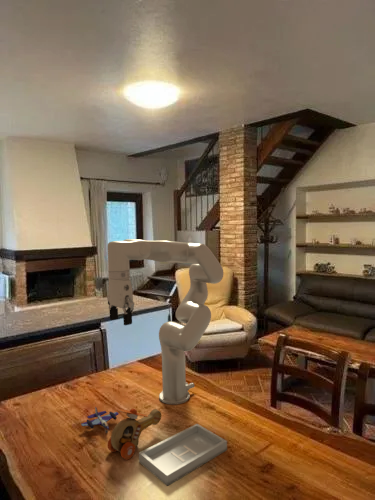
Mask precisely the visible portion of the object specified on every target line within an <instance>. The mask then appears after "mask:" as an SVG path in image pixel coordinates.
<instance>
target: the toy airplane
mask: <svg viewBox="0 0 375 500" xmlns="http://www.w3.org/2000/svg"><path fill="white" fill-rule="evenodd" d="M94 409H95V411H94V412H95V413H93V414H90V415H88V416H86V417H87V419H86V422H82V423H81V426H82V427H90V429H93V428H94V426H97V425H98V426H99V425H100V426H101V427H102V428H104V429H105V434H108V431H110V428H109V424H108V421H110V420H112V419H113V420H117V416H119V415H120V414H119V413H120V412H119V411H115V412H112V411H109V413H108V412H107V411H106V410H104V411H103V410H102V411H98V407H96V406H95V407H94ZM107 413H108V414H107ZM90 419H91V420H90ZM106 429H107V430H106ZM110 433H111V434H112V431H110Z"/></svg>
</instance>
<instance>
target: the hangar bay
mask: <svg viewBox="0 0 375 500" xmlns="http://www.w3.org/2000/svg"><path fill="white" fill-rule="evenodd" d="M227 450H228V440H226V439H224V438H223V437H220V436H219V435H217V434H215V433H214V432H212V431H211V430H209V429H207V428H206V427H204V426H202V425H200V424H199V423H195V424H194V425H192V426H190V427H187V428H186V429H184V430H182V431H180V432H178V433H175V434H173V435H172V436H169V437H168V438H166V439H162V441H160V442H159V441H158V443H155V444H154V445H152V446H150V447H148V448H146V449H144V450H142V451H139V452H138V463H139V464H141V466H143V467H144V468H146V469H147V470H148V471H149V472H150V473H151V474H152V475H154V476H155V477H156V478H157V479H159V481H160V482H162V483H163V484H164V485H166V487H168V486H170V485H172V484H173V483H175V482H176V481H178V480H180V479H182V478H183V477H185V476H187V475H188V474H190V473H191V472H193V471H195V470H196V469H198V468H199V467H201V466H203V465H204V464H206V463H208V462H209V461H211V460H213V459H215V458H216V457H218V456H220V455H221V454H223V453H224V452H226V451H227Z"/></svg>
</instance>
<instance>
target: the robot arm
mask: <svg viewBox="0 0 375 500" xmlns="http://www.w3.org/2000/svg"><path fill="white" fill-rule="evenodd" d="M132 260H133V261H143V260H149V261H155V262H160V263H175V264H176V263H177V264H178V263H179V264H180V263H181V264H190V266H189V270H188V275H189V280H190V286H189V289H188V292H186V295H185V296H184V297H183V299H182V301H181V302H180V303H179V305H178V307H177V308H176V311H175V318H176V320H178V322H176V321H166V322H164V323H163V324H162V325H160V327H159V331H158V340H159V343H160V349H161V370H162V372H161V373H162V378H161V379H162V391H161V392H160V393H158V394H159V395H158V397H159V401H160V402H162V403H163V404H165V405H166V404H167V405H180V404H183V403H186V402H188V401H189V400H190V395H191V393H189V390H190V389H193V388H195V383H194V382H190V383H188V382H187V381H186V379H187V378H186V354H185V352H190V351H192V350H193V349H194V348H195V347H196V346H197V345H198V343H199V342H200V341H201V338H202V337H203V335H204V334H205V331H206V330H207V329H208V327H209V325H210V322H211V319H212V311H211V308H209V306H207V305H206V304H205V303H206V301H207V300H208V296H209V291H208V285H207V284H212V285H213V284H218V283H220V282H221V281H222V280H223V278H224V269H223V266H222V265H221V263H220V262H219V260H218V259H217V257H216V256H215V255H214V253H213V252H212V250H211V249H210V248H209V247H208V246H207V245H206V244H204V243H196V242H195V243H194V242H184V241H183V242H182V241H172V240H171V241H170V240H144V239H135V238H132V239H131V238H126V239H124V240H114V241H109V242H108V243H107V268H108V270H107V271H108V273H107V274H108V295H107V296H106V299H107V305H108V309H109V320H110V321H113V320H118V319H119V308H120V309H122V310H123V313H122V317H123V326H129V325H132V324H133V312H134V307H135V302H134V295H133V286H132V282H131V281H132V280H131V278H130V277H131V275H130V273H131V272H130V270H131V269H130V261H132ZM179 322H180V323H179Z"/></svg>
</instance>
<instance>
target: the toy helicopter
mask: <svg viewBox="0 0 375 500" xmlns="http://www.w3.org/2000/svg"><path fill="white" fill-rule="evenodd" d="M116 412H118V413H124V414H125V413H126V417H127V418H124V419H122V420H120V421H119V422H118V423H116V425H115V426H114V428H113V430H112V431H111V432H112V433H111V435H110V438H109V439H108V441H107V449H108V450H109V451H111V452H112V453H113V452H114V453H115V452H119V453H120V456H121V458H122V459H124V460H131V458H132V457H133V456H134V455H135V452H136V447H138V445H139V439H140V436H141V433H142V432H143V431H144V430H145V429H148V428H149V427H151V426H152V425H153V426H155V425H158V424H159V423H160V421H161V419H162V412H161V411H160V410H159V409H156V408H155V409H152V410H151V411H150V412H149V414H144V413H142V412H141V413H139V412H138V411H137V409H136V408H131V409H121V408H119V409H118V408H117V411H116ZM139 416H140V417H142V418H140V419H138V417H139ZM137 419H138V420H137Z"/></svg>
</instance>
